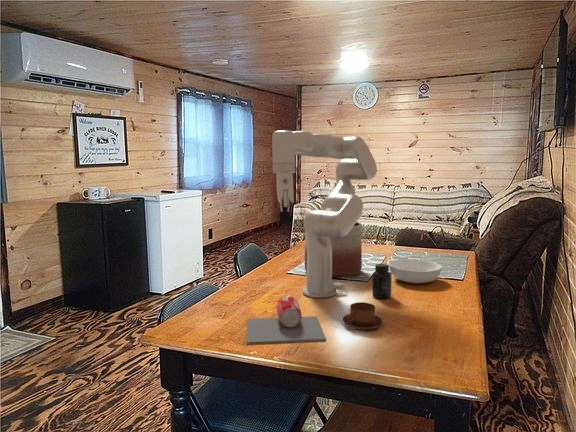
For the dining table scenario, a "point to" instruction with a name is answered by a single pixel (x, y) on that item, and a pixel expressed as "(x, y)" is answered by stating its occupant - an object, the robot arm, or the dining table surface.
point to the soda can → (289, 311)
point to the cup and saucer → (362, 317)
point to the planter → (345, 253)
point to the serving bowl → (415, 270)
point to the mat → (283, 331)
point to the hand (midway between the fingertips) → (284, 223)
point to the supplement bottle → (382, 282)
